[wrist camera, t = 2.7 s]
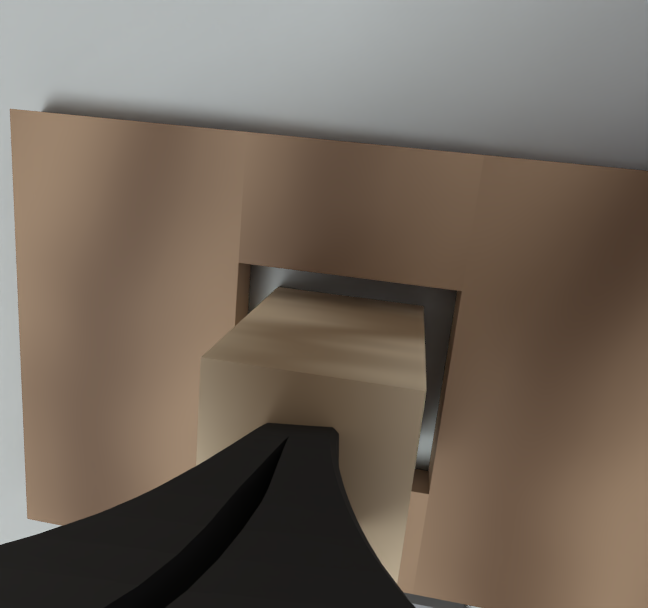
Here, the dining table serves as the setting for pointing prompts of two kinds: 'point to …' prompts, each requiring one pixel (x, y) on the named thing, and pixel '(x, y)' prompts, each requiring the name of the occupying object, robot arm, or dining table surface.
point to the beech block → (328, 394)
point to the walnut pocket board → (359, 262)
